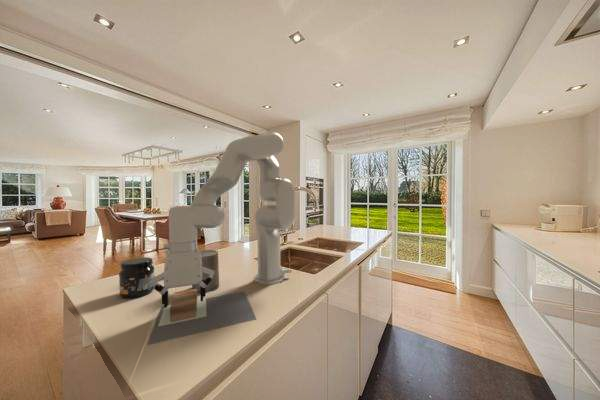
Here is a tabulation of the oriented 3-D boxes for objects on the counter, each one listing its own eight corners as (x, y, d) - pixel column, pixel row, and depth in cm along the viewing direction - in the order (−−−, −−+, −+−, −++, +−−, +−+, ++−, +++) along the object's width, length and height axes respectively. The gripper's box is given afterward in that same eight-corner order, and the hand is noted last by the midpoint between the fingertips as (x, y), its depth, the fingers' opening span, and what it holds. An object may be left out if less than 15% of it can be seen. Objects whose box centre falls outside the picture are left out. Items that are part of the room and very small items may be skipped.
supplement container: (116, 294, 81) (115, 261, 80) (149, 284, 89) (148, 255, 88) (123, 302, 74) (122, 267, 74) (158, 292, 82) (158, 260, 82)
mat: (244, 292, 81) (244, 290, 81) (256, 320, 62) (256, 318, 62) (161, 307, 70) (161, 305, 70) (147, 346, 52) (147, 344, 52)
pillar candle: (215, 281, 92) (214, 245, 92) (222, 288, 84) (221, 250, 84) (189, 287, 86) (188, 249, 86) (194, 296, 78) (193, 254, 78)
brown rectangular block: (196, 317, 63) (195, 302, 63) (170, 322, 61) (169, 307, 61) (197, 300, 73) (197, 288, 73) (175, 304, 71) (174, 291, 71)
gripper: (146, 252, 60) (148, 314, 60) (214, 246, 67) (215, 302, 67) (152, 247, 67) (153, 302, 67) (213, 241, 74) (214, 292, 74)
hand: (184, 302), depth 67 cm, fingers open, 9 cm apart
